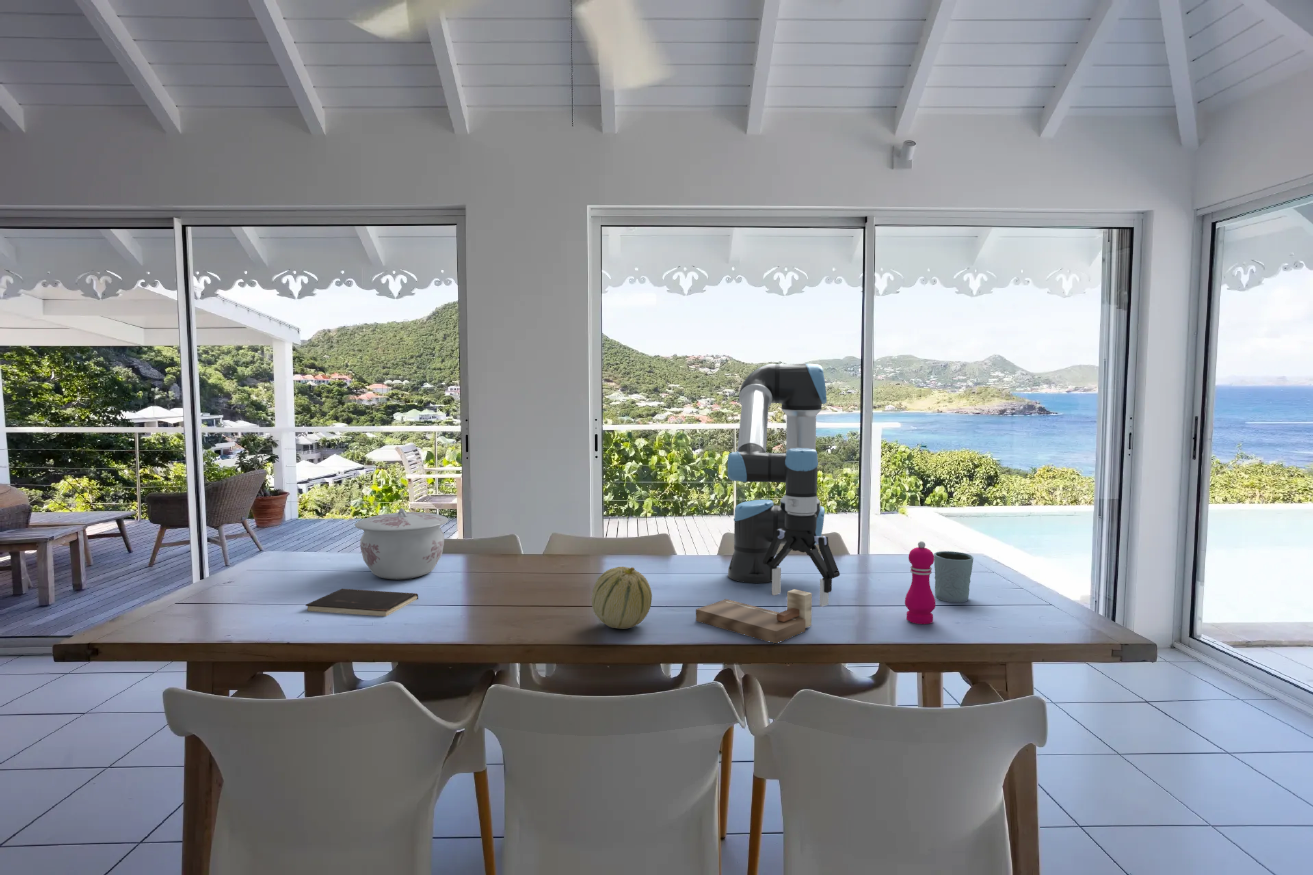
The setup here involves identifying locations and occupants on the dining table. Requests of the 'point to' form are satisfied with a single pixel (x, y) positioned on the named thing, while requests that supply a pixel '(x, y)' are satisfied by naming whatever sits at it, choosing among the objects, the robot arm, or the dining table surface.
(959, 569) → the green ceramic cup
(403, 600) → the hardcover book
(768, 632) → the walnut board
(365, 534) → the chamber pot
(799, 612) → the marking gauge
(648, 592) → the cantaloupe
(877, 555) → the dining table surface
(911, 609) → the pepper mill
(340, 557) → the dining table surface
